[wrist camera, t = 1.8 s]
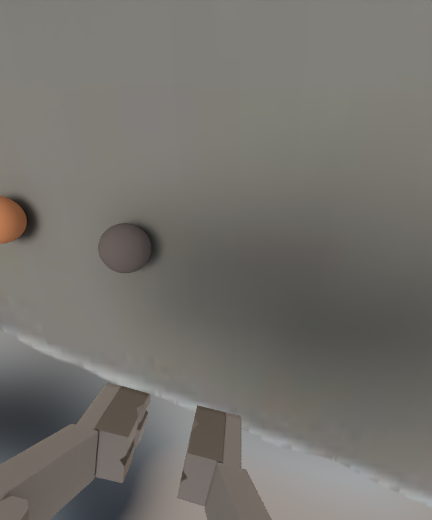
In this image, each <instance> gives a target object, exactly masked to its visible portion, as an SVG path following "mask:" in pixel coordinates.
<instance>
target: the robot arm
mask: <svg viewBox="0 0 432 520" xmlns="http://www.w3.org/2000/svg"><path fill="white" fill-rule="evenodd" d="M149 403H150V394H148V393H145V392H141V391H138V390H134V389H131V388H127V387H124V386H119V385H115V384H112V383H107V384H106V385H105V386H104V387H103V388H102V390H101V391H100V393H99V394H98V395H97V397H96V398H95V400H94V401H93V402H92V404H91V405H90V406H89V408H88V409H87V411H86V412H85V413H84V415H83V416H82V418H81V419H80V420H79V422H78V423H77V424H76V425H74V424H71V425H69V426H67V427H65V428H64V429H62V430H60V431H58V432H56V433H55V434H53V435H51V436H49V437H48V438H46V439H44V440H43V441H41V442H39V443H37V444H36V445H34V446H32V447H30V448H29V449H27V450H25V451H24V452H21V453H20V454H18V455H16V456H14V457H13V458H11V459H9V460H7V461H6V462H4V463H2V464H0V520H49V519H50V518H51V517H52V516H54V515H55V514H56V513H57V512H58V511H59V510H60V509H61V508H62V507H63V506H65V505H66V504H67V503H68V502H69V501H70V500H71V499H72V498H74V497H75V496H76V495H77V494H78V493H79V492H80V491H81V490H82V489H83V488H85V487H86V486H87V485H88V484H89V483H90V482H91V481H92V480H93V479H94V477H99V478H103V479H107V480H111V481H116V482H120V483H122V482H123V480H124V478H125V475H126V473H127V471H128V468H129V466H130V463H131V461H132V458H133V451H134V448H135V447H136V446H137V445H138V444H139V442H140V439H141V437H142V433H143V431H144V427H145V424H146V420H147V415H148V412H147V407H148V405H149ZM177 498H179V499H182V500H185V501H189V502H192V503H195V504H198V505H202V506H205V512H206V516H207V520H271V518H270V516H269V514H268V512H267V510H266V508H265V506H264V504H263V502H262V500H261V498H260V496H259V494H258V492H257V490H256V488H255V486H254V484H253V482H252V480H251V478H250V476H249V475H248V472H247V471H246V470H245V469H242V468H241V417H240V416H238V415H234V414H230V413H225V412H222V411H218V410H214V409H210V408H206V407H201V406H197V409H196V413H195V418H194V422H193V426H192V431H191V435H190V440H189V444H188V449H187V454H186V459H185V464H184V468H183V472H182V477H181V482H180V487H179V492H178V496H177Z"/></svg>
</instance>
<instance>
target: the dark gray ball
mask: <svg viewBox="0 0 432 520" xmlns="http://www.w3.org/2000/svg"><path fill="white" fill-rule="evenodd" d="M98 250H99V255H100V258H101V260H102V261H103V263H104V264H105V265H106V266H107V267H108V268H110V269H111V270H113V271H116V272H119V273H131V272H135V271H137V270H139V269H141V268H142V267H143V266H144V265H145V264H146V263H147V262H148V260H149V258H150V255H151V243H150V240H149V238H148V236H147V234H146V233H145V232H144V231H143V230H142V229H140V228H139V227H137V226H135V225H132V224H117V225H114V226H112V227H110V228H109V229H107V230H106V231H105V232H104V233H103V235H102V236H101V238H100V241H99V246H98Z"/></svg>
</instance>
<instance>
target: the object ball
mask: <svg viewBox="0 0 432 520" xmlns="http://www.w3.org/2000/svg"><path fill="white" fill-rule="evenodd" d="M26 225H27V218H26V215H25V213H24V211H23V209H22V208H21V207H20V206H19V205H18V204H17V203H16V202H14V201H12V200H11V199H9V198H6V197H3V196H0V244H1V243H7V242H11V241H13V240H15V239H17V238H18V237H20V236H21V235H22V234H23V232H24V231H25V229H26Z"/></svg>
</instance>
